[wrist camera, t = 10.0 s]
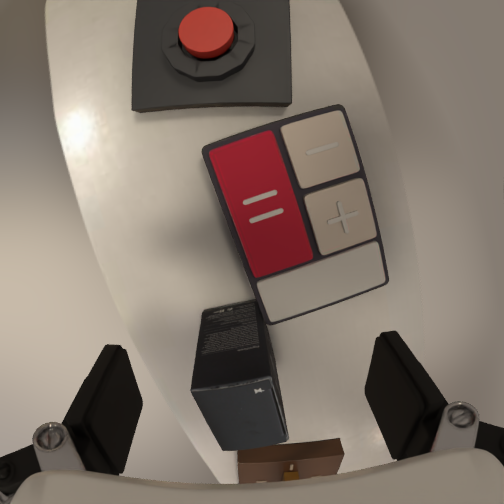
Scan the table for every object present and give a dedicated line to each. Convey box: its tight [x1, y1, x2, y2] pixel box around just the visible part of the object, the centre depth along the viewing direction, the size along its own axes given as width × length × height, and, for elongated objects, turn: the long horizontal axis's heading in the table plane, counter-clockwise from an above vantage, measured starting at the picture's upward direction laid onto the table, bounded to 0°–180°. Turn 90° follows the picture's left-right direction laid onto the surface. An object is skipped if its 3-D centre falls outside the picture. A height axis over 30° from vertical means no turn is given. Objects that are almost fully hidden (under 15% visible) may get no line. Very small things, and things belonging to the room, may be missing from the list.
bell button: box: [179, 7, 234, 59], centre depth 17 cm, size 4×4×2 cm
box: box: [190, 300, 289, 451], centre depth 25 cm, size 8×6×11 cm
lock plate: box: [237, 438, 344, 484], centre depth 37 cm, size 14×11×3 cm
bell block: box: [132, 0, 292, 113], centre depth 20 cm, size 12×10×4 cm
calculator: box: [202, 104, 389, 325], centre depth 24 cm, size 11×4×15 cm
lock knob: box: [282, 471, 299, 481], centre depth 33 cm, size 5×2×5 cm, turn 179°
